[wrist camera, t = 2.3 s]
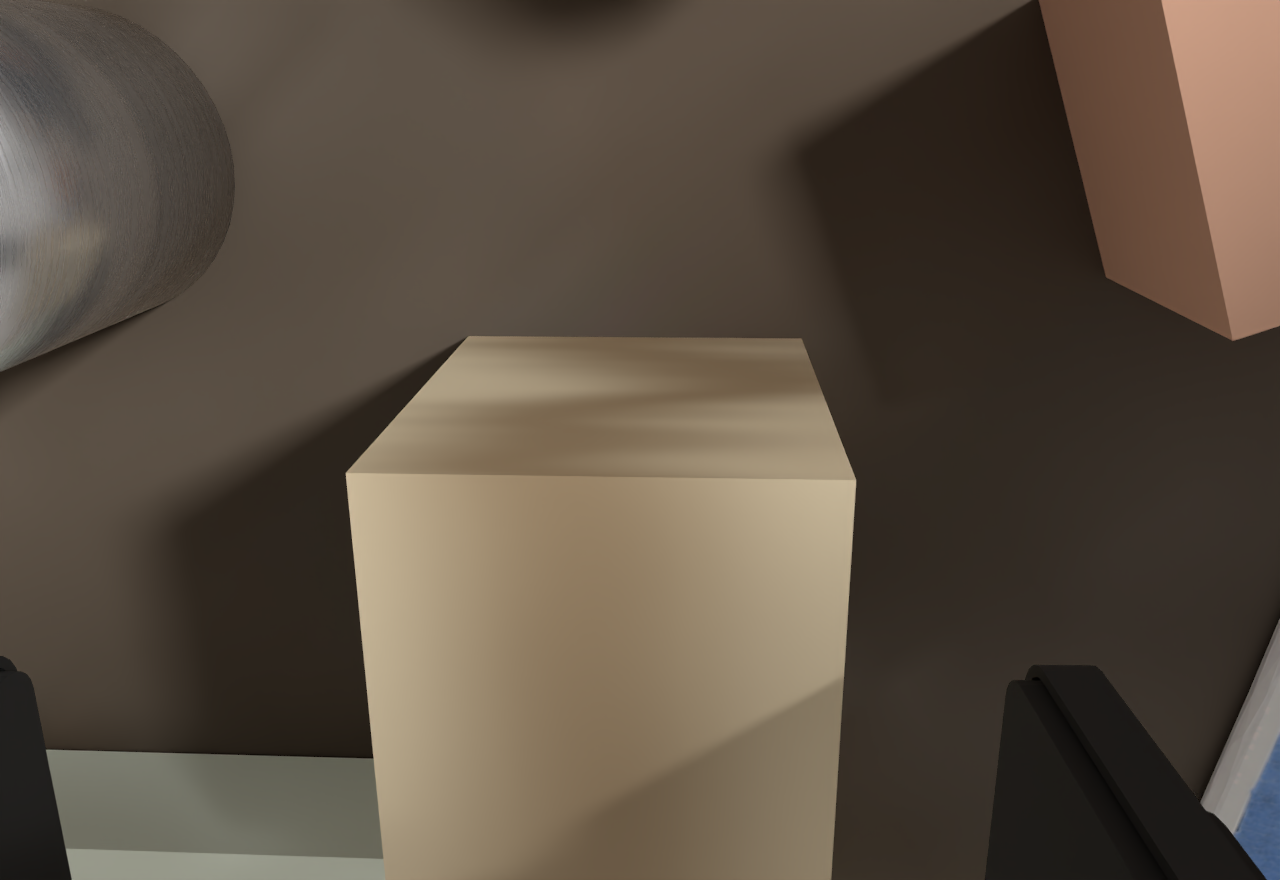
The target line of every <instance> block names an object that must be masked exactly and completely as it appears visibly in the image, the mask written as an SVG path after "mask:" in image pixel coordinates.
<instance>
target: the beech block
mask: <svg viewBox="0 0 1280 880" xmlns="http://www.w3.org/2000/svg"><path fill="white" fill-rule="evenodd" d="M346 482H347V492H348V502H349V512H350V522H351V533H352V543H353V553H354V563H355V574H356V584H357V594H358V604H359V614H360V625H361V635H362V645H363V655H364V666H365V676H366V686H367V696H368V706H369V717H370V727H371V737H372V747H373V757H374V768H375V778H376V788H377V798H378V809H379V819H380V829H381V839H382V849H383V860H384V870H385V880H831V874H832V858H833V842H834V826H835V810H836V794H837V779H838V763H839V747H840V731H841V715H842V699H843V683H844V667H845V651H846V635H847V619H848V603H849V587H850V571H851V555H852V539H853V523H854V508H855V492H856V478H855V476H854V473H853V471H852V468H851V465H850V463H849V460H848V458H847V455H846V452H845V450H844V447H843V445H842V442H841V439H840V437H839V434H838V432H837V429H836V427H835V424H834V421H833V419H832V416H831V414H830V411H829V408H828V406H827V403H826V401H825V398H824V395H823V393H822V390H821V388H820V385H819V382H818V380H817V377H816V375H815V372H814V370H813V367H812V364H811V362H810V359H809V357H808V354H807V351H806V349H805V346H804V344H803V341H802V338H661V337H518V336H468V337H467V338H466V339H465V340H464V341H463V343H462V344H461V345H460V346H459V347H458V348H457V349H456V350H455V352H454V353H453V354H452V355H451V356H450V357H449V358H448V359H447V360H446V362H445V363H444V364H443V365H442V366H441V367H440V368H439V369H438V371H437V372H436V373H435V374H434V375H433V376H432V377H431V378H430V379H429V381H428V382H427V383H426V384H425V385H424V386H423V387H422V388H421V390H420V391H419V392H418V393H417V394H416V395H415V396H414V397H413V398H412V400H411V401H410V402H409V403H408V404H407V405H406V406H405V407H404V408H403V410H402V411H401V412H400V413H399V414H398V415H397V416H396V417H395V419H394V420H393V421H392V422H391V423H390V424H389V425H388V426H387V427H386V429H385V430H384V431H383V432H382V433H381V434H380V435H379V436H378V438H377V439H376V440H375V441H374V442H373V443H372V444H371V445H370V446H369V448H368V449H367V450H366V451H365V452H364V453H363V454H362V455H361V457H360V458H359V459H358V460H357V461H356V462H355V463H354V464H353V465H352V467H351V468H350V469H349V470H348V471H347V472H346Z"/></svg>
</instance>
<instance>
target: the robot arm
mask: <svg viewBox="0 0 1280 880" xmlns="http://www.w3.org/2000/svg"><path fill="white" fill-rule="evenodd" d="M0 880H72V878H71V873H70V868H69V863H68V858H67V853H66V848H65V843H64V838H63V833H62V828H61V823H60V818H59V813H58V808H57V803H56V798H55V793H54V788H53V783H52V778H51V773H50V768H49V763H48V758H47V753H46V748H45V743H44V738H43V733H42V728H41V723H40V718H39V713H38V708H37V703H36V698H35V693H34V688H33V685H32V682H31V679H30V678H29V677H28V675H27V674H25V673H23V672H21V671H17V670H16V667H15V666H14V665H13V663H12V662H11V661H10V660H9V659H7V658H5V657H3V656H0ZM985 880H1267V879H1266V878H1265V876H1264V875H1263V874H1262V872H1261V871H1260V870H1259V868H1258V867H1257V866H1256V864H1255V863H1254V862H1253V861H1252V859H1251V858H1250V857H1249V855H1248V854H1247V853H1246V851H1245V850H1244V849H1243V847H1242V846H1241V845H1240V843H1239V842H1238V841H1237V840H1236V838H1235V837H1234V836H1233V834H1232V833H1231V832H1230V830H1229V829H1228V828H1227V826H1226V825H1225V824H1224V823H1223V822H1222V821H1221V820H1220V819H1219V818H1218V817H1217V816H1216V815H1215V814H1214V813H1211V812H1208V811H1206V810H1205V809H1204V807H1203V806H1202V805H1201V803H1200V802H1199V801H1198V799H1197V798H1196V797H1195V795H1194V794H1193V793H1192V791H1191V790H1190V789H1189V787H1188V786H1187V785H1186V783H1185V782H1184V781H1183V779H1182V778H1181V777H1180V775H1179V774H1178V773H1177V771H1176V770H1175V769H1174V767H1173V766H1172V765H1171V763H1170V762H1169V761H1168V759H1167V758H1166V757H1165V755H1164V754H1163V753H1162V751H1161V750H1160V749H1159V747H1158V746H1157V745H1156V743H1155V742H1154V741H1153V739H1152V738H1151V737H1150V735H1149V734H1148V733H1147V731H1146V730H1145V729H1144V727H1143V726H1142V725H1141V723H1140V722H1139V721H1138V719H1137V718H1136V717H1135V715H1134V714H1133V713H1132V711H1131V710H1130V709H1129V707H1128V706H1127V705H1126V703H1125V702H1124V701H1123V699H1122V698H1121V697H1120V695H1119V694H1118V693H1117V691H1116V690H1115V689H1114V687H1113V686H1112V685H1111V683H1110V682H1109V681H1108V679H1107V678H1106V677H1105V675H1104V674H1103V673H1102V671H1101V670H1100V669H1098V668H1097V667H1096V666H1082V665H1033V666H1032V667H1031V668H1030V669H1029V671H1028V673H1027V676H1026V679H1025V680H1012V681H1011V682H1010V683H1009V685H1008V688H1007V692H1006V698H1005V707H1004V716H1003V725H1002V733H1001V742H1000V751H999V760H998V769H997V778H996V786H995V795H994V804H993V813H992V822H991V830H990V839H989V848H988V857H987V866H986V875H985Z"/></svg>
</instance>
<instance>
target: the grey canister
mask: <svg viewBox="0 0 1280 880" xmlns="http://www.w3.org/2000/svg"><path fill="white" fill-rule="evenodd" d="M234 190H235V182H234V165H233V160H232V155H231V149H230V144H229V141H228V138H227V135H226V131H225V128H224V125H223V123H222V120H221V118H220V116H219V114H218V111H217V109H216V107H215V105H214V103H213V101H212V100H211V98H210V96H209V95H208V93H207V91H206V89H205V88H204V86H203V85H202V83H201V82H200V81H199V79H198V78H197V77H196V75H195V74H194V73H193V71H192V70H191V69H190V68H189V67H188V65H187V64H186V63H185V62H184V61H183V60H182V59H181V58H180V57H179V56H178V55H177V54H176V53H175V52H174V51H173V50H172V49H171V48H169V47H168V46H167V45H166V44H165V43H163V42H162V41H161V40H160V39H159V38H157V37H156V36H154V35H153V34H151V33H150V32H148V31H147V30H145V29H144V28H142V27H141V26H139V25H137V24H135V23H133V22H131V21H129V20H127V19H125V18H123V17H121V16H118V15H115V14H112V13H109V12H106V11H103V10H100V9H96V8H91V7H86V6H81V5H73V4H65V3H56V2H48V1H39V0H0V372H2V371H4V370H6V369H9V368H11V367H13V366H16V365H18V364H21V363H23V362H25V361H28V360H30V359H32V358H35V357H37V356H40V355H42V354H44V353H47V352H49V351H51V350H54V349H56V348H59V347H61V346H63V345H66V344H68V343H70V342H73V341H75V340H78V339H80V338H82V337H85V336H87V335H89V334H92V333H94V332H97V331H99V330H101V329H104V328H106V327H109V326H111V325H113V324H116V323H118V322H120V321H123V320H125V319H128V318H130V317H132V316H135V315H137V314H139V313H142V312H144V311H147V310H149V309H151V308H154V307H156V306H158V305H161V304H163V303H165V302H167V301H169V300H171V299H172V298H174V297H176V296H178V295H179V294H181V293H182V292H183V291H185V290H186V289H187V288H189V287H190V286H192V285H193V284H194V283H195V282H196V281H197V280H198V279H199V278H200V277H201V276H202V275H203V274H204V272H205V271H206V270H207V268H208V267H209V266H210V264H211V263H212V262H213V260H214V259H215V257H216V255H217V253H218V251H219V249H220V248H221V246H222V244H223V242H224V239H225V236H226V233H227V230H228V228H229V225H230V220H231V215H232V210H233V204H234Z"/></svg>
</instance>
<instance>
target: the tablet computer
mask: <svg viewBox="0 0 1280 880" xmlns="http://www.w3.org/2000/svg"><path fill="white" fill-rule="evenodd" d="M1200 803H1201V805H1202V806H1203V807H1204V809H1205V810H1206V811H1208V812H1211V813H1214V814H1215V815H1216V816H1217V817H1218V818H1219V819H1220V820H1221V821H1222V822H1223V823H1224V824H1225V825H1226V826H1227V828H1228V829H1229V830H1230V832H1231V833H1232V834H1233V836H1234V837H1235V838H1236V840H1237V841H1238V842H1239V843H1240V845H1241V846H1242V847H1243V849H1244V850H1245V851H1246V853H1247V854H1248V855H1249V857H1250V858H1251V859H1252V861H1253V862H1254V863H1255V864H1256V866H1257V867H1258V868H1259V870H1260V871H1261V872H1262V874H1263V875H1264V876H1265V878H1266V879H1267V880H1280V619H1279V621H1278V624H1277V626H1276V628H1275V631H1274V633H1273V635H1272V638H1271V640H1270V643H1269V645H1268V647H1267V650H1266V652H1265V655H1264V657H1263V659H1262V662H1261V664H1260V666H1259V669H1258V671H1257V674H1256V676H1255V678H1254V681H1253V683H1252V685H1251V688H1250V690H1249V693H1248V695H1247V697H1246V699H1245V702H1244V704H1243V706H1242V708H1241V711H1240V713H1239V715H1238V718H1237V720H1236V722H1235V724H1234V727H1233V729H1232V731H1231V733H1230V736H1229V738H1228V740H1227V742H1226V745H1225V747H1224V749H1223V751H1222V754H1221V756H1220V758H1219V761H1218V763H1217V765H1216V767H1215V770H1214V772H1213V774H1212V776H1211V779H1210V781H1209V783H1208V785H1207V788H1206V790H1205V792H1204V795H1203V797H1202V799H1201V802H1200Z"/></svg>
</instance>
